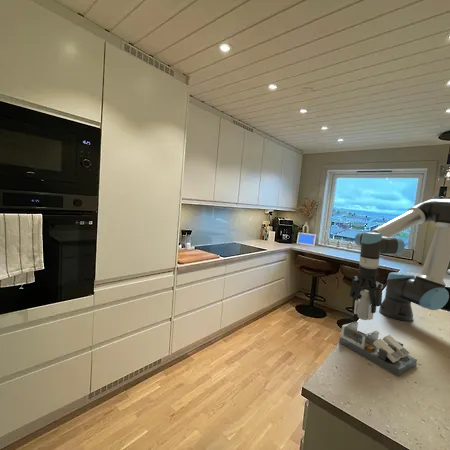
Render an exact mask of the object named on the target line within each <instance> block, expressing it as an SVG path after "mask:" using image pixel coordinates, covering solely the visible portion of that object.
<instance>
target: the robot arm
mask: <svg viewBox="0 0 450 450" xmlns="http://www.w3.org/2000/svg"><path fill="white" fill-rule="evenodd" d="M426 222H434V223H433V224H434V225H435V227H436V229H435V232H434V235H433V237H432V240H431V243H430V246H429V249H428V251H427V255H426V258H425V260H424V263H423V266H422V270H421V272H420V273H419V274H417V275H415V274H413V273H407V272H397V271H396V272H389V273H388V276H387V279H386V287H385V284H384V283H380V282H379V281H378V273H379V267H380V264H379V263H380V256H381V255H385V254H386V255H387V254H388V255H396V254H402V253H403V252H404V250H405V247H406V243H405V241H404V240H403V239H402V238H401V237H395V236H397V235H398V234H400V233H402V232H404V231H406V230H408V229H410V228H412V227H414V226H415V225H422V224H424V223H426ZM354 242H355V243H354V244H356V246H357V247H360V255H359V262H358V263H359V265H358V275H352V276H351V285H350V293H349V297H350V298H353V303H352V306H353V307H354V311H353V314H354V315H357V313H356V311H357V308H358V305H359V302H360V299H361V298H360V297H361V294H360V291H361V290H364V287H365V288H367V290H368V291H369V295H370V297H369V299H370V305H369V313H368V321H371V320H373V319H374V314H376V313H377V307H379V313H381V314H382V315H384V316H385V317H388V318H391V319H394V320H397V321H403V322H411V321H413V319H414V312H413V309H412V303H413V304H415V305H417V306H419V307H422V308H424V309H428V310H431V311H438V310H440V309H442V308H443V307H444V306H446V304H447V303H448V301H449V298H450V295H449V291H448V290H447V289H446V286H447V284H446V282H444V278H445V275H446V273H447V270H448V267H449V264H450V198H433V199H428V200H425V201H422V202H421V203H417V204H415V205H413V206H411V207H410V208H408V209H407V210H406V212H404V213H403V214H400V215H399V216H396V217H395V218H393V219H390V220H389V221H387V222H385V223H383V224H381V225H379V226H377V227H375V228H374V229H371V230H369V231H365V232H364V231H362V232H361V231H360V232H357V233H356V235H355V236H354ZM375 286H376V287H375ZM384 287H385V295H384V299H383V289H384ZM375 289H376V291H375Z"/></svg>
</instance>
